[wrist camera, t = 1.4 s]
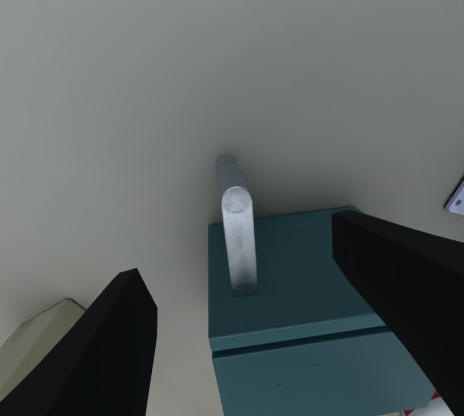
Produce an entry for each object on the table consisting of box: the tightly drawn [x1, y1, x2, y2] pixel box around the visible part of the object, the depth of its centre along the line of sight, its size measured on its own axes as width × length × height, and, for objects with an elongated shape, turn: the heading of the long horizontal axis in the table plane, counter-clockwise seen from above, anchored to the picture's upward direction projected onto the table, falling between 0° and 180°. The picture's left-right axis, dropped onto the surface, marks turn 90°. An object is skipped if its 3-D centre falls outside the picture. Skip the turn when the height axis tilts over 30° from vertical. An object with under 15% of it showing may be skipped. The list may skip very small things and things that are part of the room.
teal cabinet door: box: [208, 154, 386, 352], centre depth 14 cm, size 7×13×10 cm, turn 96°
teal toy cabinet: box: [212, 325, 436, 416], centre depth 18 cm, size 8×13×11 cm, turn 96°
